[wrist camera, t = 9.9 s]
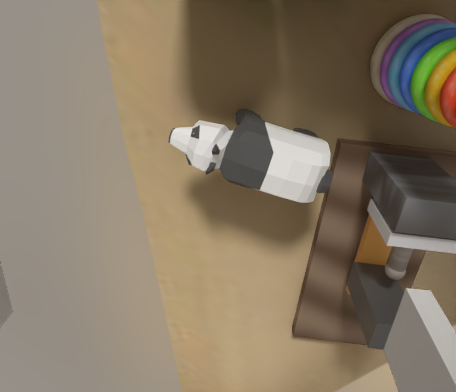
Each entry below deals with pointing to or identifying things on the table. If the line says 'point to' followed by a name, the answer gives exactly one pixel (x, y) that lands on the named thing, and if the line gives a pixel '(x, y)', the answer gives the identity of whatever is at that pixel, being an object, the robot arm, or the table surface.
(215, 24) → the table surface
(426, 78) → the stacking toy
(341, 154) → the board
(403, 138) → the table surface
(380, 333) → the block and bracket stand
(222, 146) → the giant panda
